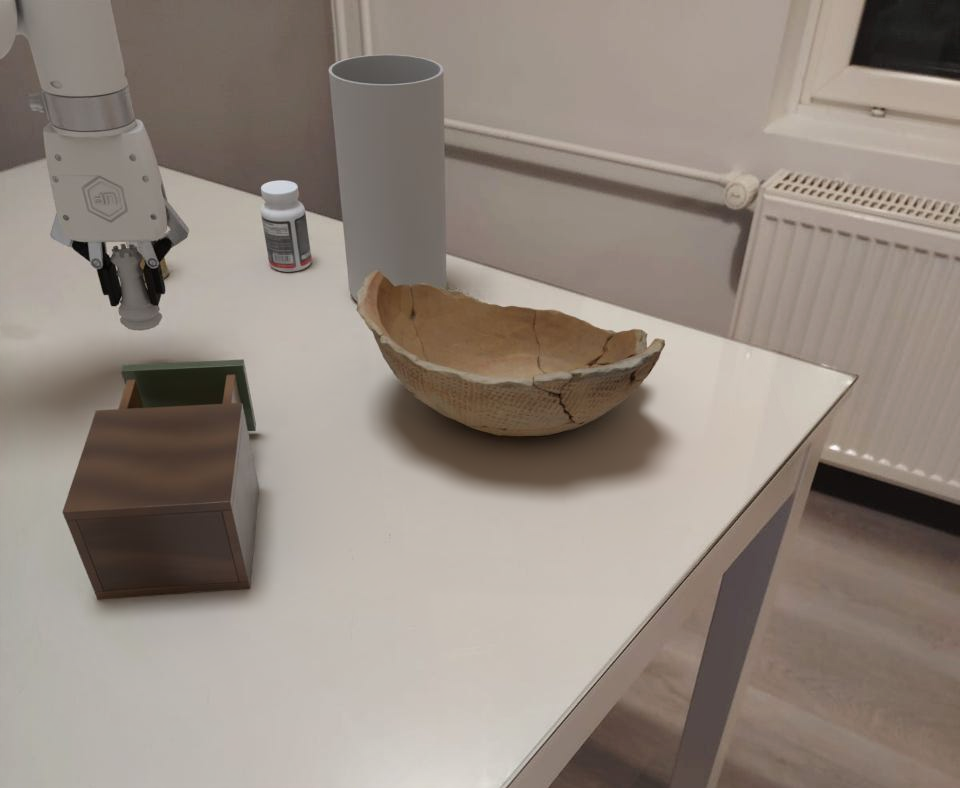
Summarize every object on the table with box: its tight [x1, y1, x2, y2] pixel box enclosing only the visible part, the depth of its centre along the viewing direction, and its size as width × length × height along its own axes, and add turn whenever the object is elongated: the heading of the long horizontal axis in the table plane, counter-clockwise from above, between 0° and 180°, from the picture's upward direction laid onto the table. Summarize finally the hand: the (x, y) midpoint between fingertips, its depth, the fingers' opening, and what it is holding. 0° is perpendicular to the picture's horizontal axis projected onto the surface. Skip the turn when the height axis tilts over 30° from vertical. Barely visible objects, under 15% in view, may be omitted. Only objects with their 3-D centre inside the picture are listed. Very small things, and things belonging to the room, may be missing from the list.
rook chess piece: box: [110, 243, 163, 331], centre depth 95 cm, size 4×4×8 cm
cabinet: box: [61, 403, 260, 600], centre depth 77 cm, size 15×13×9 cm
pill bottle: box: [260, 179, 312, 273], centre depth 118 cm, size 6×6×10 cm
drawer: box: [118, 358, 257, 432], centre depth 86 cm, size 18×11×7 cm, turn 7°
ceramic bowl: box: [356, 270, 666, 437], centre depth 92 cm, size 30×27×15 cm
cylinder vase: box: [328, 54, 448, 303], centre depth 107 cm, size 12×12×25 cm
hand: (136, 298), depth 96 cm, fingers closed on rook chess piece, 3 cm apart
